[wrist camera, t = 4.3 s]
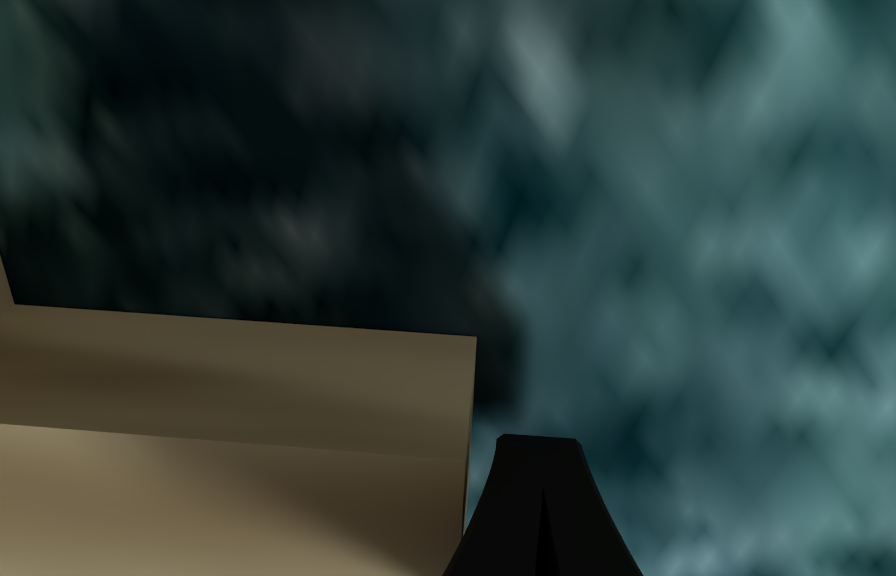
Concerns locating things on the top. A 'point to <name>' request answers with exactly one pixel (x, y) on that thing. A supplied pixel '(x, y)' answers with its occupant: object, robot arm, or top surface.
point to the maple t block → (228, 446)
